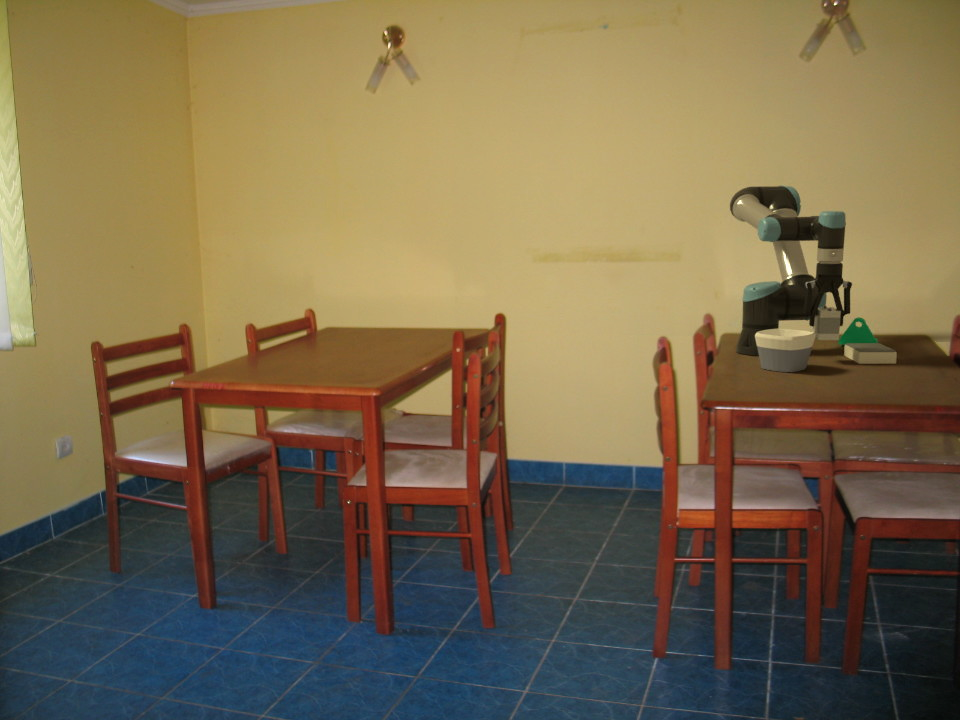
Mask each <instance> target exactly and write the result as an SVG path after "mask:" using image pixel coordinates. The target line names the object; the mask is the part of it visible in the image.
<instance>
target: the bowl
mask: <svg viewBox="0 0 960 720" xmlns="http://www.w3.org/2000/svg"><path fill="white" fill-rule="evenodd" d="M755 339H756V344H757V348H758V353H759V356H758V357H759V362H760V367H761V369H763V370H765V369H766V371H770V370H771V371H772V372H777V371H778V373H787V372H790V373H795V372H801V370H802V371H803V370H806V369H807V366H808V362H809V360H810V356H811V352H812V349H813V345H814V342H815V340H816V338H815V333H814V332H812V331H808V330H801V329H790V328H779V329H770V330H763V331H759V332H757V333H756V334H755ZM771 371H770V372H771Z"/></svg>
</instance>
